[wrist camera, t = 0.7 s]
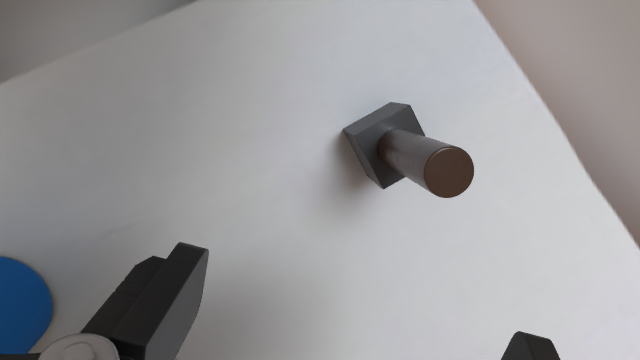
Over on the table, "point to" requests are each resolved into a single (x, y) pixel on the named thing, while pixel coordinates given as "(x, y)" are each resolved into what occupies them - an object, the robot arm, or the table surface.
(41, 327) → the beverage can
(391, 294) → the table surface
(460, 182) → the cylinder on square base
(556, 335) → the table surface
